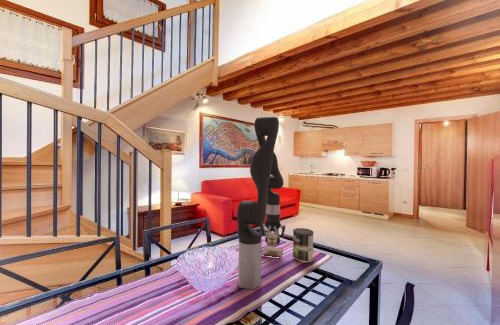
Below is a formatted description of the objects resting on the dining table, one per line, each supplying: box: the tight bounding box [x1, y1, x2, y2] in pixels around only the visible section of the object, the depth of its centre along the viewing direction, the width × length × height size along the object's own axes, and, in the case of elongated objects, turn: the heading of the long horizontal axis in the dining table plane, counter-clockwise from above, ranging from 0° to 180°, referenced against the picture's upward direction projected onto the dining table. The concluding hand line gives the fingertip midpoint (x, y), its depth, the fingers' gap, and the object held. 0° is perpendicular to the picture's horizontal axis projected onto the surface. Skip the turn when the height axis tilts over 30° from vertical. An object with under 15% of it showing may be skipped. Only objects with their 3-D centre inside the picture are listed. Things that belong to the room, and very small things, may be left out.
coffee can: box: [292, 227, 314, 263], centre depth 120 cm, size 10×10×14 cm
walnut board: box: [261, 246, 284, 259], centre depth 126 cm, size 12×10×1 cm
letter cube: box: [266, 233, 278, 248], centre depth 126 cm, size 5×5×5 cm
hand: (272, 243), depth 126 cm, fingers closed on letter cube, 5 cm apart
